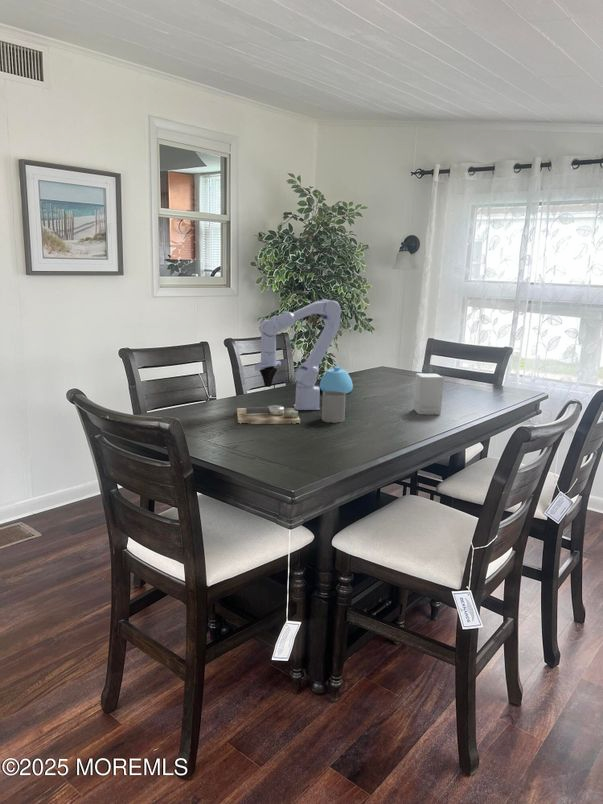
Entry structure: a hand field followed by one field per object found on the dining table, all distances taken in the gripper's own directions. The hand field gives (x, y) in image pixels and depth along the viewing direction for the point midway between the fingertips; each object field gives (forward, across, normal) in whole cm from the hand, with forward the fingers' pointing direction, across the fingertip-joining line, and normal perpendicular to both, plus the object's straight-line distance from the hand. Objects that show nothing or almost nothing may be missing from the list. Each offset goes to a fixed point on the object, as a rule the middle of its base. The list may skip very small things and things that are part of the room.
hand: (267, 386), depth 232 cm
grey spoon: (+8, +12, +7) cm, 16 cm away
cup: (+10, -2, +28) cm, 30 cm away
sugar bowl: (+10, -49, +4) cm, 50 cm away
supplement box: (+10, -37, +52) cm, 64 cm away
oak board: (+9, +10, +7) cm, 15 cm away
